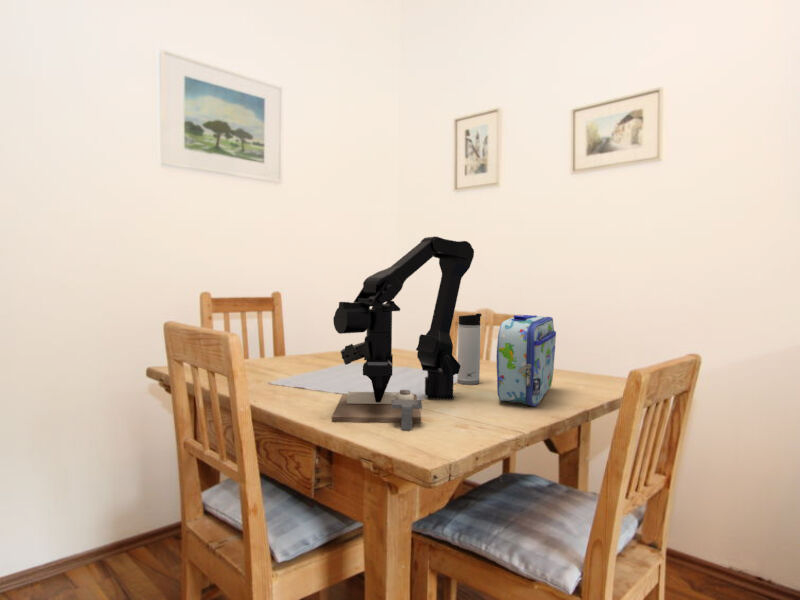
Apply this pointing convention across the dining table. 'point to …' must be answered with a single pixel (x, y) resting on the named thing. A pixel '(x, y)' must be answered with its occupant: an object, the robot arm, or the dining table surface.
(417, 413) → the walnut board
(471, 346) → the travel mug
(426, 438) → the dining table surface
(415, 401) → the metal keeper
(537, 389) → the lunch box
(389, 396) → the cream link
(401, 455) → the dining table surface
